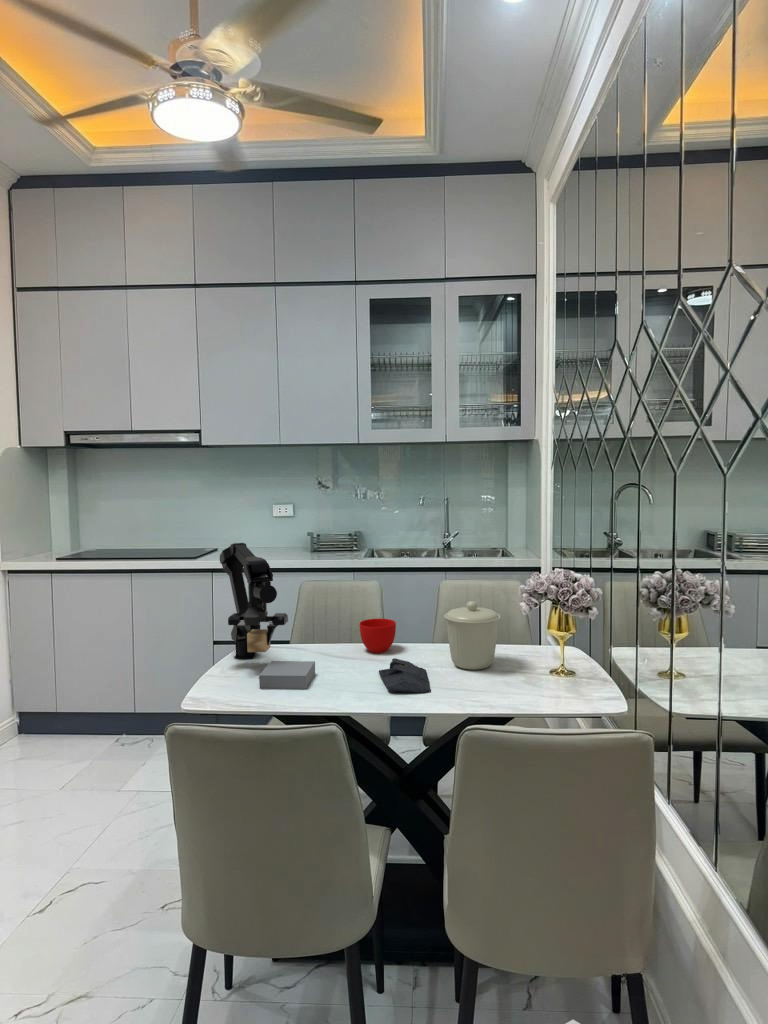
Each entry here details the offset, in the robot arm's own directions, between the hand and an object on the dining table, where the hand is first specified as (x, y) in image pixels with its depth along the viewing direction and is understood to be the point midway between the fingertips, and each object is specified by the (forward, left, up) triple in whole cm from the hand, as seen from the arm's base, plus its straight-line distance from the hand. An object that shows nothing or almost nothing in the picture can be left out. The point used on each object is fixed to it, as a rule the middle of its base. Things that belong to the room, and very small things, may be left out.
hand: (259, 644), depth 206 cm
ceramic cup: (+37, +21, -8) cm, 43 cm away
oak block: (0, 0, -2) cm, 2 cm away
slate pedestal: (+13, -14, -7) cm, 20 cm away
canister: (+70, +3, -8) cm, 70 cm away
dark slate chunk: (+49, -13, -8) cm, 51 cm away
